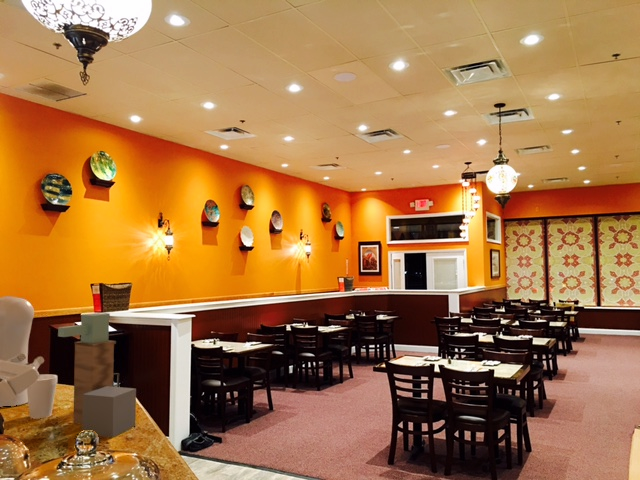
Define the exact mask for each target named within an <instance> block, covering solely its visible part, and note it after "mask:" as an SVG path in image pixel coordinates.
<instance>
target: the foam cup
mask: <svg viewBox="0 0 640 480" xmlns="http://www.w3.org/2000/svg"><path fill="white" fill-rule="evenodd" d="M57 384H58V375H57V374H47V373H46V374H39V378H38V379H37V380H36V381H35V382H34V383H33V384H32V385H30V386H29V387H28V388H27V394H28V409H29V417H31V418H30V419H32V418H33V420H34V419H35V420H39V419H40V418H41V419H46V418H45V417H47V418H49V417H51V416H52V413H53V408H54V401H55V396H56V391H57V390H56V389H57Z"/></svg>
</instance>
